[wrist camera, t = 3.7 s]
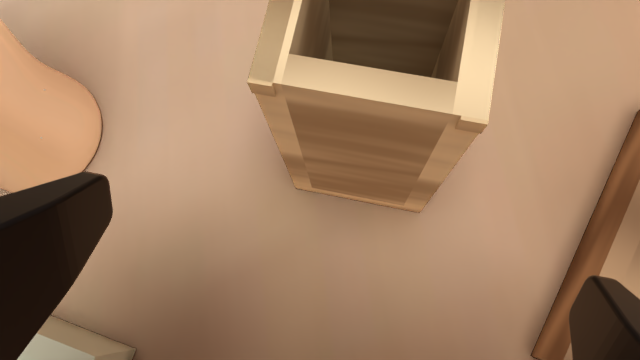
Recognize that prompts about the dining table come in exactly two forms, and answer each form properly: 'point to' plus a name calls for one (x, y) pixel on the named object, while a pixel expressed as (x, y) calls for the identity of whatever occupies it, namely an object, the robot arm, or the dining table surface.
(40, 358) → the grey-green crate
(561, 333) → the crate
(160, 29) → the dining table surface
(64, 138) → the beer glass
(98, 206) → the robot arm
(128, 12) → the dining table surface
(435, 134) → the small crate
